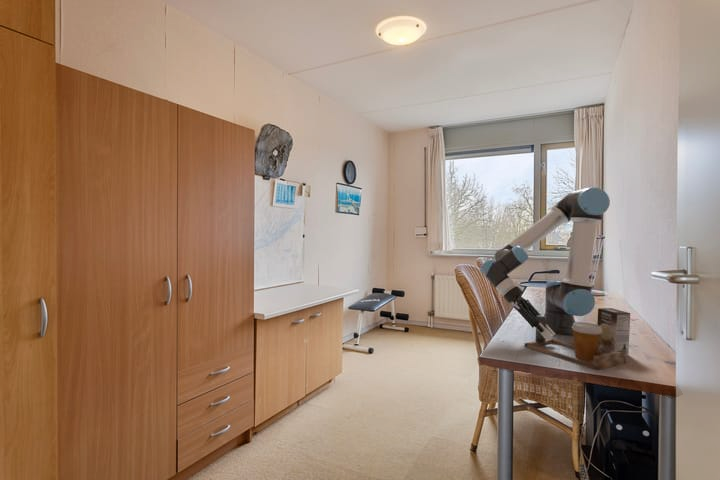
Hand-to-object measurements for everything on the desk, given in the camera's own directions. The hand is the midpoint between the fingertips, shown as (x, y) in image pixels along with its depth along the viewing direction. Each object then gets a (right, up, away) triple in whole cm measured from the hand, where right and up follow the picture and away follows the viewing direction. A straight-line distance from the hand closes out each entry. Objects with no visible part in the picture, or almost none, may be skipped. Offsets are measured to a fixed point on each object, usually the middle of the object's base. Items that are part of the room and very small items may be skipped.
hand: (550, 337), depth 148 cm
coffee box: (+21, -4, -5) cm, 22 cm away
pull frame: (+3, -4, -9) cm, 10 cm away
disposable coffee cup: (+6, -4, -13) cm, 15 cm away
